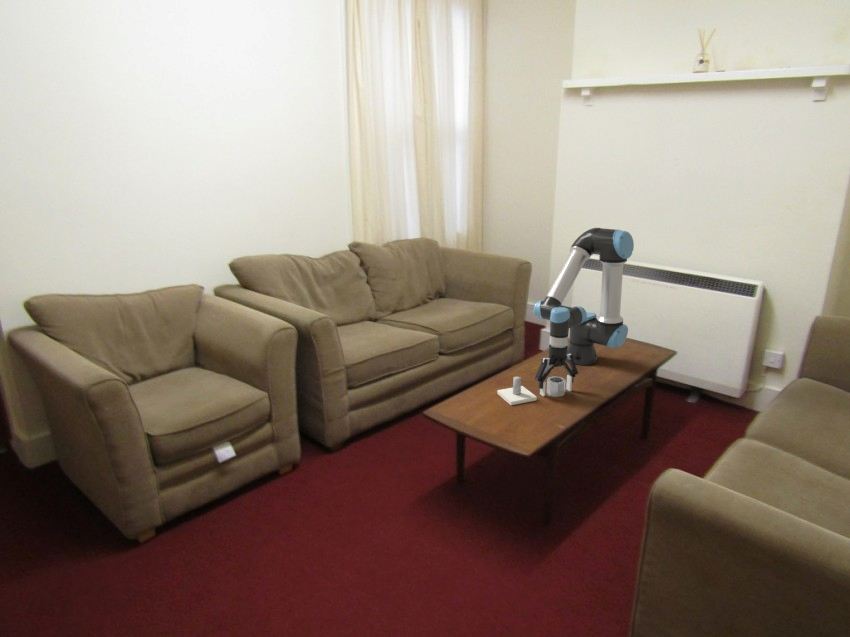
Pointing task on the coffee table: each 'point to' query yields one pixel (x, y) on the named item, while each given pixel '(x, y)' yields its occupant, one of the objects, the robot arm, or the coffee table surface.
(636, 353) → the coffee table surface
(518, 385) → the post
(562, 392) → the tube
